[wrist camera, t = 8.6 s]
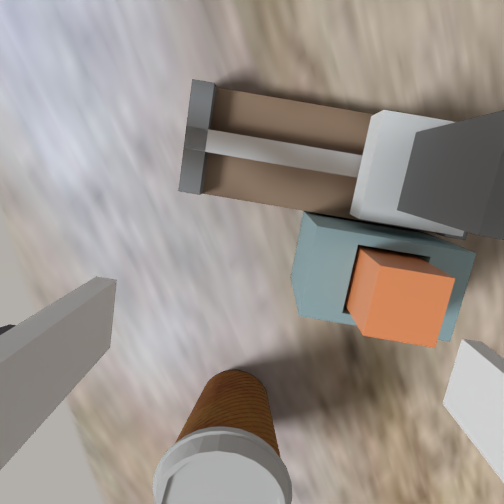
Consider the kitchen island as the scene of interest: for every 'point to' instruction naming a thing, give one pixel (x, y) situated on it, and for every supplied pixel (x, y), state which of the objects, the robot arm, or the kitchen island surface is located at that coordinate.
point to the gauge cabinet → (343, 255)
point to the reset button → (397, 296)
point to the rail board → (288, 131)
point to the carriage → (433, 174)
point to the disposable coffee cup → (225, 449)
